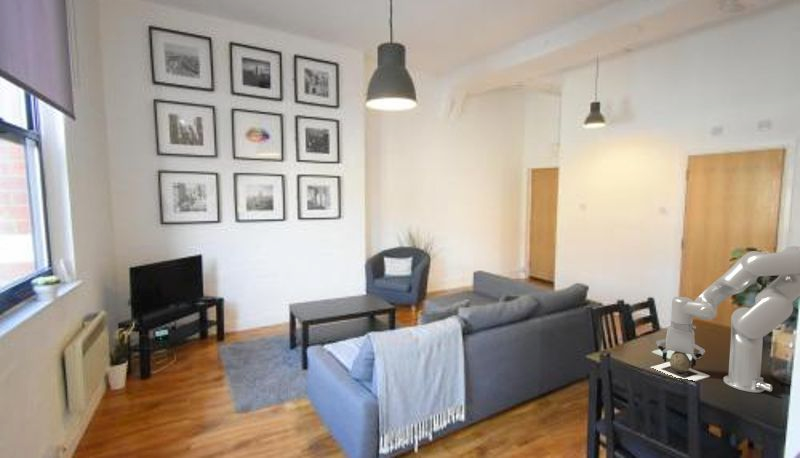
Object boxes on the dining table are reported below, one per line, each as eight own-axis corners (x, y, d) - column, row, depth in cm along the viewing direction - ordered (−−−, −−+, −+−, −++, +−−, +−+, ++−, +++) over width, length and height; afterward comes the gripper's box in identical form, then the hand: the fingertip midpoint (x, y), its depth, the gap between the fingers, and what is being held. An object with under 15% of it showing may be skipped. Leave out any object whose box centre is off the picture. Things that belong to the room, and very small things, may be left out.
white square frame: (709, 376, 166) (709, 375, 166) (689, 383, 160) (689, 382, 160) (670, 362, 180) (671, 361, 180) (650, 368, 175) (650, 366, 175)
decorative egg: (672, 374, 168) (673, 352, 167) (667, 367, 175) (668, 345, 174) (692, 376, 166) (693, 354, 165) (685, 369, 173) (686, 347, 172)
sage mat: (700, 358, 184) (700, 356, 184) (681, 363, 179) (682, 362, 179) (670, 347, 197) (670, 346, 197) (651, 352, 192) (651, 351, 192)
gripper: (706, 327, 166) (703, 366, 168) (657, 319, 177) (655, 356, 179) (706, 332, 161) (703, 372, 162) (656, 324, 171) (654, 361, 173)
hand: (678, 364), depth 170 cm, fingers open, 9 cm apart
